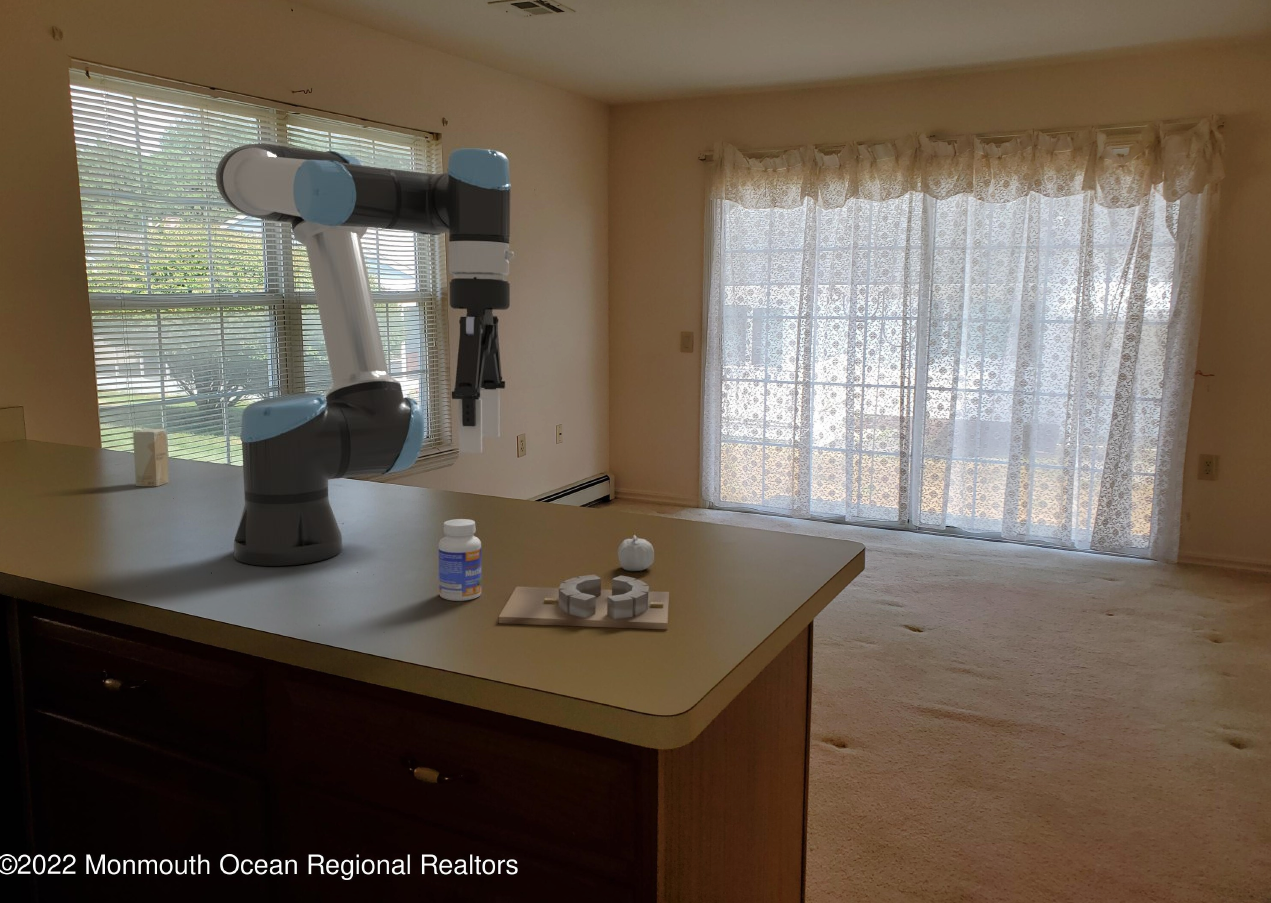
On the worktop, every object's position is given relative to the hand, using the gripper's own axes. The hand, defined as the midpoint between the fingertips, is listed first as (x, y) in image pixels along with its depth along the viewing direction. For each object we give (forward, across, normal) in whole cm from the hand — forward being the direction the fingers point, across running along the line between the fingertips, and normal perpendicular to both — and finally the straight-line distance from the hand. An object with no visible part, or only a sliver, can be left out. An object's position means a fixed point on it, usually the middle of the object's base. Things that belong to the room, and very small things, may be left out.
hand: (480, 444), depth 120 cm
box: (+20, +64, +78) cm, 102 cm away
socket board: (+19, -8, -15) cm, 25 cm away
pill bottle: (+20, -3, +2) cm, 20 cm away
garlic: (+20, +11, -20) cm, 30 cm away
